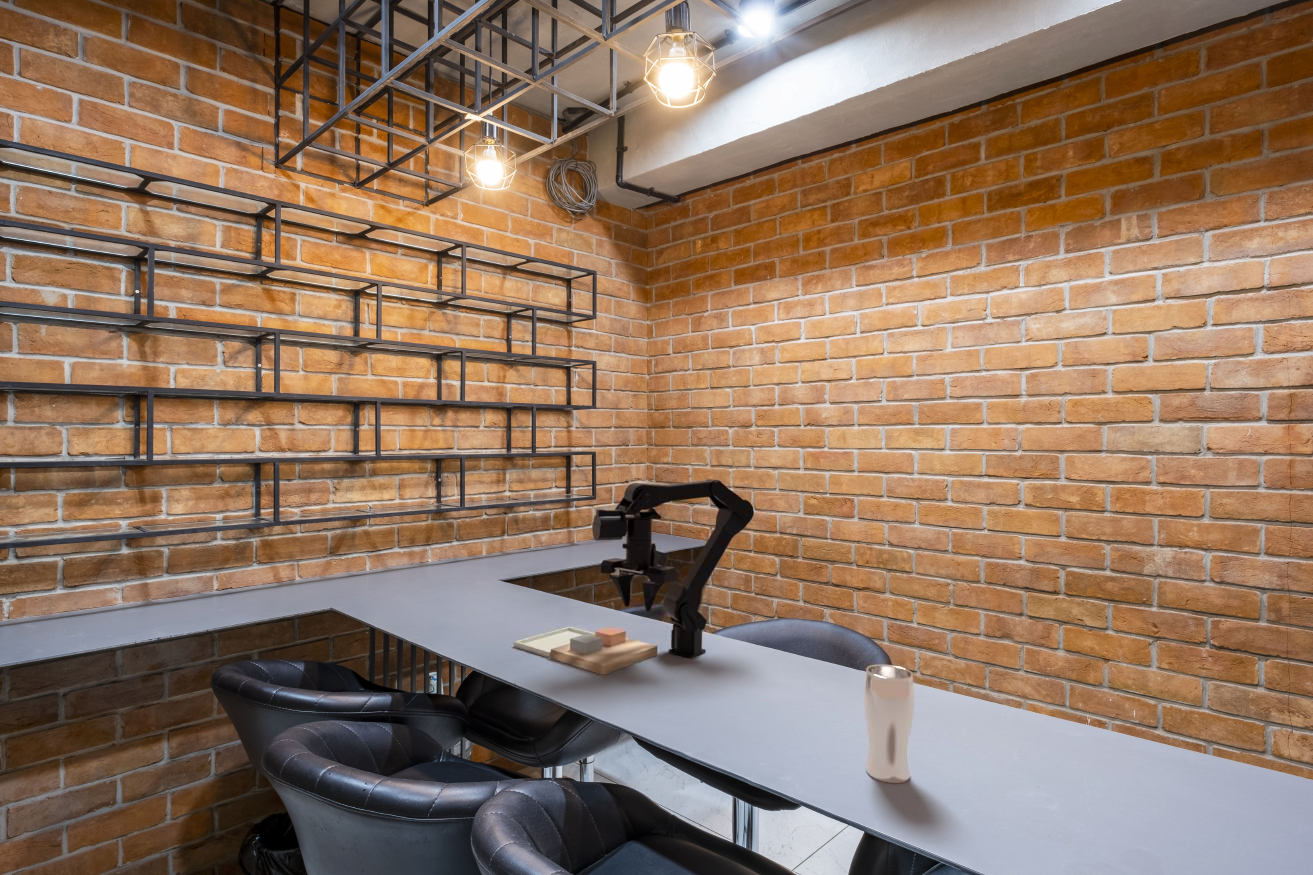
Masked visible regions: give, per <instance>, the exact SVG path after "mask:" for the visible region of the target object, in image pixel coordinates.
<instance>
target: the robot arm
mask: <svg viewBox="0 0 1313 875" xmlns="http://www.w3.org/2000/svg"><path fill="white" fill-rule="evenodd" d="M702 498H708V499H709V500H710V501H711V503H712V504H713V505H714V506H715V508H717V509H718V511H717V514H716V516H715V517H716V519H715V527H714V528H713V531H712V532H711V534H710V536H709V537H708V540H707V541H706V542H705V544H704V546H703V547H702V550H701V551H700V553H699V554H698V556H697V558H696V559H695V561H694V563H693V564H692V566H691V568H690V570H689V571H688V573H687V574H686V577H685V578H684V579H683V580H682V581H680V582H679V583H678V582H676V581H679V571H678V569H677V568H676V567H673V566H667V563H668V559H669V555H668V554H666V553H665V552H662V551H659V550H657V545H656V543H654V542H652V541H653V536H652V534H653V520H661V519H662V515H660V514H659V513H658V512H657V511H656V508H658V507H660V506H661V505H664V504H666V503H669V502H675V501H676V502H678V501H685V500H694V499H702ZM754 515H755V511H754V506H753V504H752V503H751V502H750V501H749V500H747V499H743V498H742V496H740V495H738V494H737V493H736V492H734V491H732V489H730V488H728V487H727V486H726V485H725V484H724V483H723V482H722V481H721V480H719V479H710V478H708V479H705V480H699V481H687V482H680V483H671V484H670V483H669V484H656V483H655V484H654V483H644V482H643V483H642V482H633V483H630V484H629V485H627V487H626V488H625V490H624V495H623V497H622V499H621V500H620V502H618V504H617V505H616V507H615V508H614V509H603V508H601V509H600V508H599V509H596V510H595V515H594V518H593V522H592V523H591V524H592V525H591V527H592V528H591V529H592V536H593V539H594V541H620V540H623V537H626V539H625V540H626V542H625V543H622V544H621V545H622V549H625V559H624V558H619V557H614V558H609V559H603V560H602V562H601V563H600V565H599V566H600V570H599V571H600V573H601V574H606V575H608V578H609V579H611V581H612V582H613V584H614V586H615V587H616V590H617V591H618V594H619V596H620V597H621V601H622V603H623V605H624V607H626V608H628V607H630V605H631V604H630V602H631V590H632V589H631V586H632V585H631V584H632V581H633V578H634V576H635V575H639V576H644V577H645V576H646V577H647V580H645V581H642V582H641V583H642V593H643V594H642V595H643V604H644V610H645V611H646V612H650V611H651V610H652V607H653V604H654V602H655V599H656V597H657V594H658V593H659V589H660V588H661V587H662V586H663V584H669V583H671V584H670V587H669V589H668V591H667V592H666V593H664V595H663V597H664V601H663V610H664V612H665V613H666V614H667V616H669V619H670V622H671V623H673V624H672V629H671V631H670V632H671V635H670V637H671V638H670V648H669V649H668V650H667V652H668V653H670V654H674V655H676V656H681V657H685V658H689V659H690V658H691V659H692V658H694V657H696V656H699V655H702V654H704V653H706V652H707V650H706V649H705V648H703V630H705V628H706V625H707V622H708V621H707V619H706V618H705V617H704V615H702V614H701V613H700V611H699V609H700V606H701V604H702V595H703V590H704V587H705V586H706V584H707V583H708V581H709V579H710V577H711V576H712V574H713V572H714V571H715V569H716V567H717V565H718V563H719V562H720V560H721V559H722V557H723V556H724V553H725V552H726V550H727V548H728V546H729V545H730V543H731V541H732V540H733V538H734V537H735V536H737V535H738V534H740V532H742V531H744V529H745V528H747V526H748V524H749V523H750V522H751V521H752V520H753V518H754Z"/></svg>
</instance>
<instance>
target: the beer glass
mask: <svg viewBox="0 0 1313 875" xmlns="http://www.w3.org/2000/svg"><path fill="white" fill-rule="evenodd" d="M865 671H866V672H865V681H864V691H863V692H864V693H863V694H864V695H863V700H864V701H863V702H864V703H863V704H864V705H863V706H864V716H865V723H866V728H867V734H868V735H867V736H868V744H869V745H868V746H869V747H868V756H867V760H866V765H865V770H866V773H867V774H868V775H869V776H870V777H871V778H873V779H875V780H877V781H880V782H883V783H887V782H888V784H902V783H906V782H907V781H909V780H910V775H911V774H910V769H909V762H908V746H909V740H910V734H911V730H912V725H913V720H914V713H915V711H914V710H915V709H914V708H915V690H914V689H915V688H914V674H913V672H912V671H911V670H909V669H907V668H904V667H902V666H897V665H893V664H892V665H891V664H871V665H868V666H867V667H866V670H865Z"/></svg>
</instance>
